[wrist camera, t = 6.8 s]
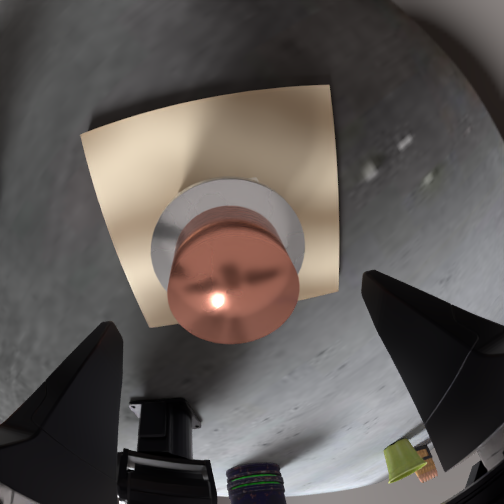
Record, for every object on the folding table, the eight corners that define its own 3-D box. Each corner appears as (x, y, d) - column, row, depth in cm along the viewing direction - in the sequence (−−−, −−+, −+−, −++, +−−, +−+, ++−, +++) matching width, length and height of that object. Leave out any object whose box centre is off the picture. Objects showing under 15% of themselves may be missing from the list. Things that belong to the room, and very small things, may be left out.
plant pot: (388, 441, 45) (401, 473, 37) (420, 429, 46) (434, 458, 39) (370, 458, 49) (381, 487, 42) (401, 447, 51) (413, 473, 43)
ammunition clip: (404, 452, 55) (418, 485, 45) (409, 449, 55) (424, 482, 44) (422, 447, 59) (436, 477, 48) (426, 444, 58) (441, 474, 48)
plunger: (289, 261, 18) (326, 341, 12) (181, 282, 18) (172, 370, 12) (277, 151, 15) (325, 186, 9) (149, 176, 15) (108, 230, 8)
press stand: (333, 283, 21) (357, 322, 17) (151, 319, 21) (143, 363, 17) (323, 85, 14) (358, 81, 10) (87, 132, 14) (50, 143, 10)
